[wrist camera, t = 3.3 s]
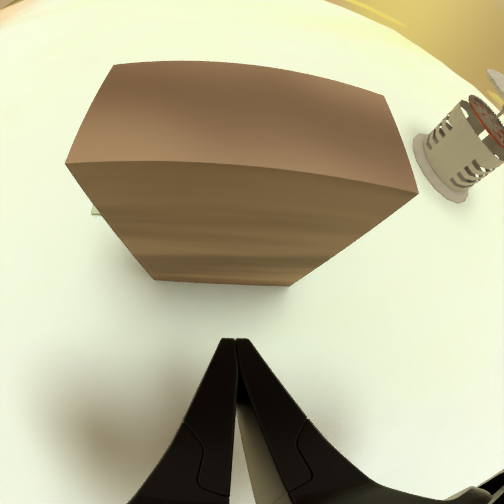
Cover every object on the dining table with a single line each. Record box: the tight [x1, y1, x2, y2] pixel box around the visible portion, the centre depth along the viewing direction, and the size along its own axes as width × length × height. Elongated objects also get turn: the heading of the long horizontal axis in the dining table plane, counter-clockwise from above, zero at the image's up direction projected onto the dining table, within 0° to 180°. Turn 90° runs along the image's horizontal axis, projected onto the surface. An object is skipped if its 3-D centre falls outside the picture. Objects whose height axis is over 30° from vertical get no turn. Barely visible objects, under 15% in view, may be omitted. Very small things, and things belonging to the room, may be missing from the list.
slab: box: [65, 61, 419, 286], centre depth 12 cm, size 4×9×13 cm, turn 90°
